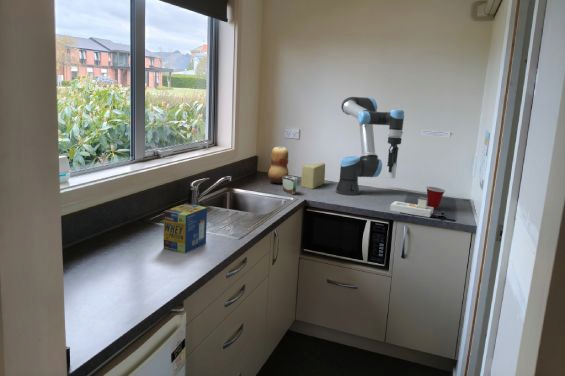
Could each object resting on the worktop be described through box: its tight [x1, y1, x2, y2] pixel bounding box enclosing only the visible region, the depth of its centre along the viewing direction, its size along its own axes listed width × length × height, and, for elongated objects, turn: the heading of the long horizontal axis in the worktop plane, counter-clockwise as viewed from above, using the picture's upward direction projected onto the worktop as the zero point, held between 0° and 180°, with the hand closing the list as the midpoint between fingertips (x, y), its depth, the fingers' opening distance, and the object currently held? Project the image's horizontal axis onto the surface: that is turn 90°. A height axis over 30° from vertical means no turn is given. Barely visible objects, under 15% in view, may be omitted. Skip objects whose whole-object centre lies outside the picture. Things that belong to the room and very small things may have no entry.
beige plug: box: [417, 196, 428, 209], centre depth 262 cm, size 4×4×9 cm
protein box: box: [163, 203, 208, 254], centre depth 188 cm, size 10×15×16 cm
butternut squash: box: [267, 146, 289, 184], centre depth 318 cm, size 14×13×25 cm
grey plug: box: [385, 162, 398, 179], centre depth 273 cm, size 4×4×9 cm
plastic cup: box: [425, 186, 446, 210], centre depth 276 cm, size 11×11×12 cm
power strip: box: [389, 200, 447, 219], centre depth 263 cm, size 30×10×4 cm, turn 63°
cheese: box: [300, 162, 326, 190], centre depth 318 cm, size 22×10×15 cm, turn 145°
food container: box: [282, 175, 299, 196], centre depth 293 cm, size 12×6×10 cm, turn 37°
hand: (390, 176), depth 274 cm, fingers closed on grey plug, 4 cm apart
